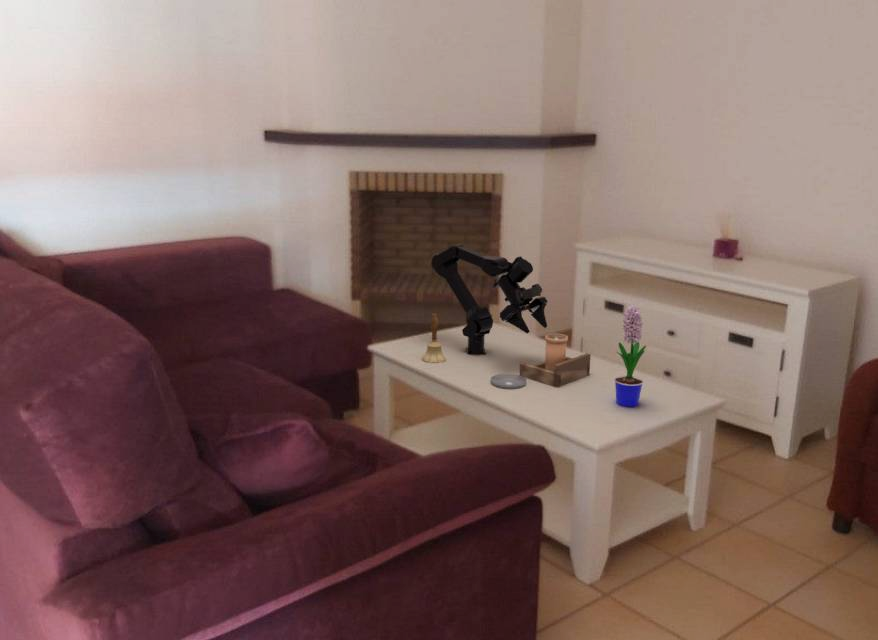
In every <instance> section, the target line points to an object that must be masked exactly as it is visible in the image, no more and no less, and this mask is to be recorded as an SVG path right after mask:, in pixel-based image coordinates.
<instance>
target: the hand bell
mask: <svg viewBox="0 0 878 640" xmlns="http://www.w3.org/2000/svg"><path fill="white" fill-rule="evenodd" d="M430 329H431V342H429V343H427V348H426V350H425V351H426V352H425V353H424V355H422V358H421V360H422V361H423V362H425V363H428V362H430V364H440V363H439V362H441V363H445V362H446V361H447V357H446V356H445V355H444V353H443V350H442V345H441V343H440V342H438V336H437V335H438V334H437V332H438V329H439V319H438V316H437V313H432V316H431V318H430Z"/></svg>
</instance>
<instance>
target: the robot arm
mask: <svg viewBox="0 0 878 640" xmlns="http://www.w3.org/2000/svg"><path fill="white" fill-rule="evenodd" d="M460 260H462V261H464V262H466V263H468V264H471V265H474V266H476V267H479V268H480V269H481V271H482V272H483V273H484V274H486V275H488V276H489V277H491V278H492V277H493V278H494V277H498V276H500V277H499V278H495V279H494V282H493V286H492V287H493V288H500V289H501V291H502V293H503V294H504V296H505V298H504V301H505V302H506V303H507V302H508V303H509V304H508V305H506V306H505V307H504V308H503V309H502V310H501V311H500V312H499V318H500V319H501V321H502V322H506V323H508V324H511V325H512V326H514V327H515V328H518V329H519V330H520V331H522V332H524V333H525V334H529V333H530V329H529V327H528V325H527V323H526V321H525V320H524V318H523V316H522V315H523V313H522V312H525V311H528V313H531V314H530V316H532V317H533V319H535V320H536V321H537V322H538V324H540V325H541V327H543V328H544V329H546V328H547V327H548V323H547V320H546V319H547V318H546V315H545V309H546V306H547V304H548V303H549V301H548V300H547V298H546V297H545V296H542V292H543V288H542V286H541V285H540V284H539V283H536V284H532V285H531V287H530V288H527V289H526V288H525V287H521V286H520V284H519V283H523V282H524V281H525V280H526V278H527V277H529V276H530V275H531V274H533V272H534V267H533V265H532V263H531V262H529V261H528V260H526V259H525V258H523V257H522V256H521V255H520V256H516V258H515V259H514V260H513V261H512V262H510V261H509V260H508V259H507V258H506V257H502V256H497V255H487V254H485V253H482V252H479V251H477V250H475V249H472V248H469V247H467V246H465V245H463V244H461V243H459V244H455V245H451V246H450V247H448V249H446V250H445V251H443V252H440V253H438V254H434V255H433V257H432V259H431V264H430V265H431V267H432V269H433V271H434V272H435V273H436V274H437V275H438V276H439V277H441V278H442V279H444V280H445V281H446V282H447V284H448V285H449V287H450V289H451V290H452V292H453V294H454V295H455V297H456V298H457V301H458V302H459V304H460V305H461V307H462V308H463V310H464V312H465V321H466V325H465V326H464V327H463V328H462V329H461V331H462V335H463V336H464V337H467V347H465V349H466V350H465V351H466V354H467V355H486V354H487V352H486V348H485V338H486V337H485V336H486V335H489V334H490V332H491V330H492V328H493V325H494V319H493V315H492V314H491V313H490V311H489V309H488V307H487V306H483V307H481V306H479V304H478V302H477V301H476V300H475V298H474V296H473V294H472V293H471V292H470V290H469V288H468V286H467V285H466V283H465V281H464V280H463V278H462V277H461V275H460V273H459V265H458V262H459V261H460Z"/></svg>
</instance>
